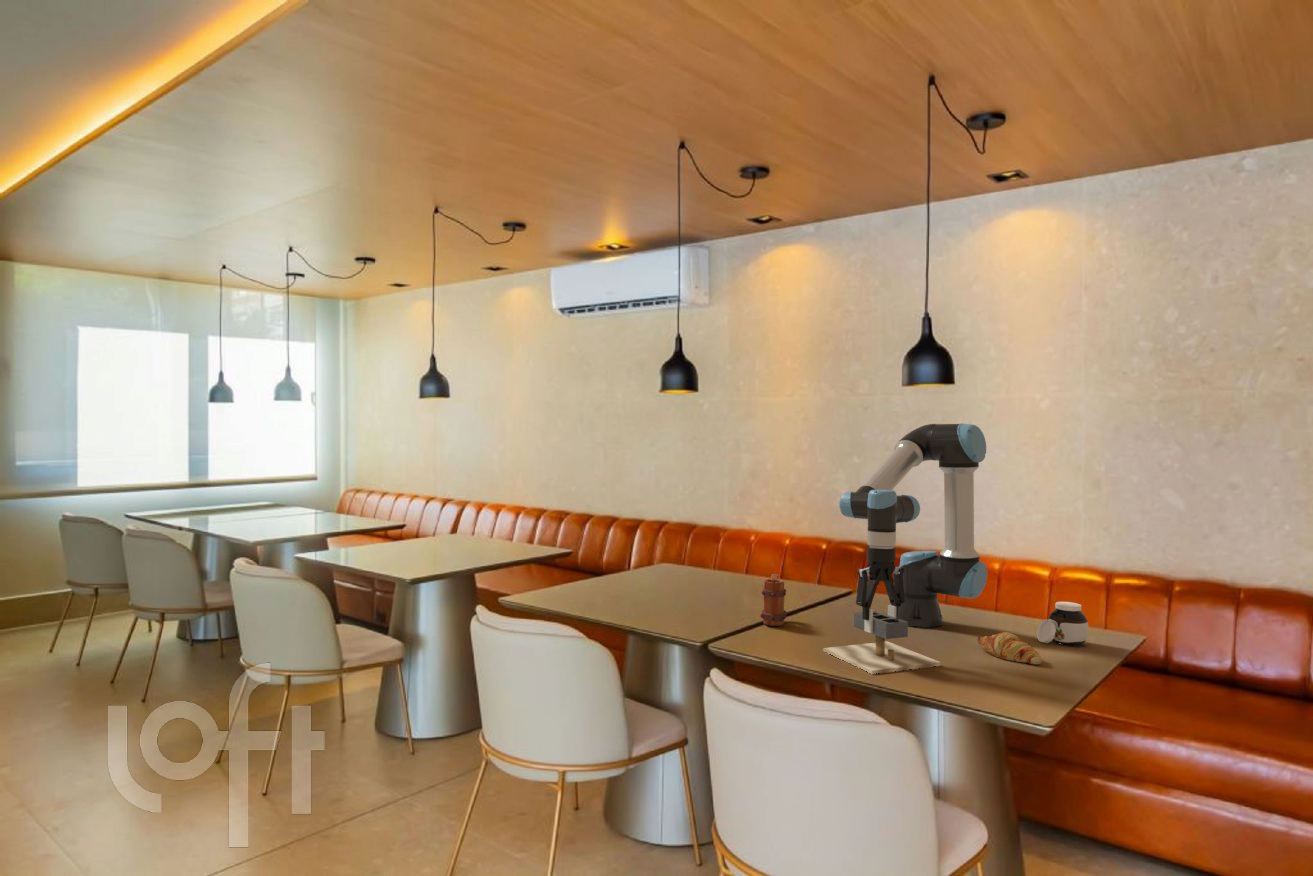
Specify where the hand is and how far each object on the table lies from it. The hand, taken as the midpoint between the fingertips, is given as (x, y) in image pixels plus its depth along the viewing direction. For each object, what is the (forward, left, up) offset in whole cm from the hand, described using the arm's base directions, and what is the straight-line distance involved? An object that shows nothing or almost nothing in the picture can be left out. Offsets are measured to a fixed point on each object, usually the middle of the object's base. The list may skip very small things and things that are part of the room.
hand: (880, 630), depth 214 cm
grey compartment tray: (0, 0, 0) cm, 0 cm away
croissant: (-35, +10, -8) cm, 38 cm away
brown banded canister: (+7, -45, -8) cm, 46 cm away
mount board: (0, 0, -8) cm, 8 cm away
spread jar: (-61, +5, -8) cm, 62 cm away
